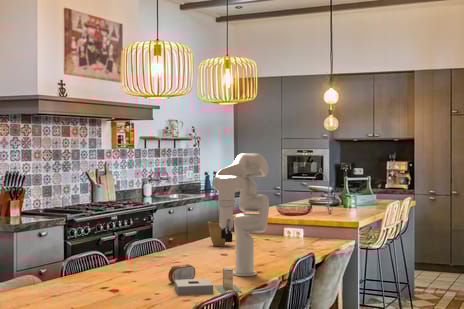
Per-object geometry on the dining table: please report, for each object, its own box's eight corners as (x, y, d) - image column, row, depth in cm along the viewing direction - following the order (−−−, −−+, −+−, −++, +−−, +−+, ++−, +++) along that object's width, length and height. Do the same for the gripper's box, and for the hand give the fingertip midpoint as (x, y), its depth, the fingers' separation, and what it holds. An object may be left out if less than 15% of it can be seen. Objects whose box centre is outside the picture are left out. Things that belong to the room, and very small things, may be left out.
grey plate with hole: (174, 288, 286) (174, 279, 286) (208, 286, 289) (208, 278, 289) (177, 295, 272) (177, 286, 272) (213, 294, 275) (213, 285, 275)
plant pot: (226, 247, 400) (226, 223, 400) (204, 246, 405) (204, 222, 405) (232, 244, 415) (233, 220, 414) (212, 243, 419) (212, 220, 419)
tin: (192, 279, 305) (192, 262, 305) (196, 280, 302) (196, 263, 302) (167, 284, 295) (167, 266, 295) (171, 285, 292) (171, 267, 292)
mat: (214, 286, 290) (214, 285, 290) (235, 285, 291) (235, 284, 291) (219, 293, 276) (219, 292, 276) (241, 292, 278) (241, 291, 278)
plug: (222, 287, 285) (222, 268, 285) (231, 287, 286) (231, 267, 286) (224, 289, 281) (224, 270, 281) (232, 289, 282) (232, 269, 282)
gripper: (215, 202, 292) (215, 237, 293) (222, 206, 275) (222, 243, 276) (230, 201, 294) (230, 237, 294) (238, 205, 277) (238, 243, 277)
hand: (226, 240), depth 285 cm, fingers open, 9 cm apart
